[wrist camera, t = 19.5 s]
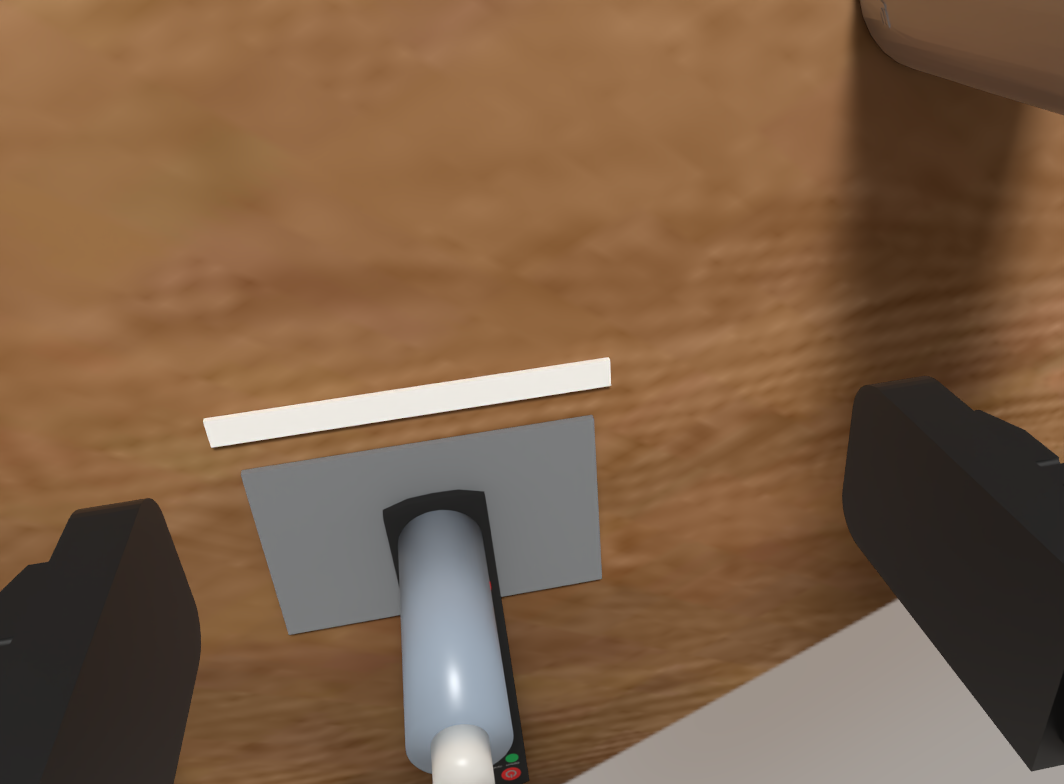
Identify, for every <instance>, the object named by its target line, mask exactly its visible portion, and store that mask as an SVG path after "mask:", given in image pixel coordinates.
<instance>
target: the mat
mask: <svg viewBox="0 0 1064 784" xmlns="http://www.w3.org/2000/svg"><path fill="white" fill-rule="evenodd" d="M241 477H242V481H243V484H244V487H245V491H246V494H247V497H248V500H249V504H250V507H251V510H252V514H253V517H254V520H255V524H256V527H257V530H258V534H259V537H260V540H261V544H262V547H263V550H264V554H265V557H266V560H267V564H268V567H269V570H270V574H271V577H272V580H273V584H274V587H275V590H276V594H277V597H278V600H279V604H280V607H281V610H282V614H283V617H284V620H285V624H286V627H287V630H288V633H289V635H291V634H297V633H302V632H308V631H314V630H319V629H325V628H330V627H336V626H342V625H347V624H353V623H358V622H364V621H369V620H375V619H381V618H386V617H392V616H397V615H401V613H400V588H399V584H398V580H397V576H396V571H395V567H394V563H393V559H392V554H391V550H390V546H389V542H388V537H387V533H386V529H385V525H384V521H383V509H386V508H388V507H390V506H392V505H394V504H397V503H399V502H401V501H403V500H405V499H408V498H412V497H417V496H421V495H426V494H430V493H436V492H443V491H450V490H457V489H460V490H473V491H484V493H485V498H486V504H487V510H488V516H489V523H490V529H491V536H492V542H493V549H494V555H495V562H496V568H497V575H498V581H499V588H500V594H501V597H503V596H509V595H515V594H520V593H526V592H531V591H537V590H542V589H548V588H554V587H559V586H565V585H570V584H576V583H582V582H587V581H593V580H598V579H602V569H601V550H600V530H599V510H598V491H597V471H596V451H595V432H594V418H593V416H592V415H588V416H582V417H576V418H569V419H563V420H557V421H550V422H544V423H538V424H531V425H525V426H519V427H512V428H506V429H500V430H494V431H487V432H481V433H475V434H468V435H462V436H456V437H449V438H443V439H437V440H430V441H424V442H418V443H411V444H405V445H399V446H393V447H386V448H380V449H374V450H367V451H361V452H355V453H348V454H342V455H336V456H329V457H323V458H317V459H310V460H304V461H298V462H291V463H285V464H279V465H273V466H266V467H260V468H254V469H247V470H242V472H241Z"/></svg>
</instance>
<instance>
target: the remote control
mask: <svg viewBox="0 0 1064 784" xmlns="http://www.w3.org/2000/svg"><path fill="white" fill-rule="evenodd" d="M437 510H451V511H456V512H460V513H463V514H465V515H467V516H469V517H470V518H471V519H473V520H474V521H475V522H476V523H477V524H478V526H479V528H480V530H481V532H482V537H483V543H484V550H485V556H486V562H487V569H488V575H489V582H490V588H491V594H492V601H493V607H494V614H495V620H496V626H497V633H498V639H499V645H500V652H501V658H502V665H503V671H504V677H505V684H506V690H507V697H508V703H509V709H510V716H511V722H512V728H513V743H512V746H511V748H510V749H509V751H508V752H507V754H506V755H505V756H504V757H503V758H502V759H501V760H499V761H498V762H497V763H495V764H494V765H493V772H494V779H495V784H523V783H525V782H527V781H529V775H528V769H527V762H526V756H525V749H524V743H523V736H522V730H521V723H520V717H519V710H518V704H517V697H516V691H515V684H514V678H513V672H512V665H511V659H510V652H509V646H508V639H507V633H506V626H505V620H504V613H503V607H502V600H501V594H500V588H499V581H498V575H497V568H496V562H495V555H494V549H493V542H492V536H491V529H490V523H489V516H488V510H487V504H486V498H485V493H484V491H473V490H460V489H457V490H450V491H443V492H436V493H430V494H426V495H421V496H417V497H412V498H408V499H405V500H403V501H401V502H399V503H397V504H394V505H392V506H390V507H388V508H386V509H383V521H384V525H385V529H386V533H387V537H388V542H389V546H390V550H391V554H392V559H393V563H394V567H395V571H396V576H397V580H398V584H399V560H398V539H399V536H400V533H401V532H402V530H403V528H404V527H405V526H406V525H407V524H408V523H409V522H410V521H411V520H413V519H414V518H416V517H417V516H420V515H422V514H424V513H427V512H431V511H437ZM399 588H400V587H399Z"/></svg>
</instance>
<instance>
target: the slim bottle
mask: <svg viewBox="0 0 1064 784" xmlns="http://www.w3.org/2000/svg"><path fill="white" fill-rule="evenodd" d="M398 560H399V587H400V613H401V639H402V666H403V692H404V718H405V745H406V754H407V756H408V758H409V760H410V761H411V762H412V763H413V764H414V765H415V766H416V767H417V768H419V769H421V770H423V771H425V772H427V773H431V774H432V777H433V784H495V779H494V772H493V765H494V764H495V763H497V762H498V761H499V760H501V759H502V758H503V757H504V756H505V755H506V754H507V752H508V751H509V749H510V748H511V746H512V743H513V728H512V722H511V716H510V709H509V703H508V697H507V690H506V684H505V677H504V671H503V665H502V658H501V652H500V645H499V639H498V633H497V626H496V620H495V614H494V607H493V601H492V594H491V588H490V582H489V575H488V569H487V562H486V556H485V550H484V543H483V537H482V532H481V530H480V528H479V526H478V524H477V523H476V522H475V521H474V520H473V519H471V518H470V517H469V516H467V515H465V514H463V513H460V512H456V511H451V510H437V511H431V512H427V513H424V514H422V515H420V516H417V517H416V518H414V519H413V520H411V521H410V522H409V523H408V524H407V525H406V526H405V527H404V528H403V530H402V532H401V533H400V536H399V539H398Z"/></svg>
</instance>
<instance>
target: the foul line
mask: <svg viewBox="0 0 1064 784" xmlns="http://www.w3.org/2000/svg"><path fill="white" fill-rule="evenodd" d="M606 386H611V373H610V359H609V357H607V358H600V359H594V360H587V361H581V362H574V363H567V364H561V365H554V366H548V367H541V368H534V369H528V370H521V371H515V372H508V373H501V374H495V375H488V376H482V377H475V378H468V379H462V380H455V381H449V382H442V383H435V384H429V385H422V386H416V387H409V388H402V389H396V390H389V391H382V392H376V393H369V394H363V395H356V396H349V397H343V398H336V399H330V400H323V401H316V402H310V403H303V404H297V405H290V406H283V407H277V408H270V409H264V410H257V411H250V412H244V413H237V414H231V415H224V416H217V417H211V418H204V420H203V423H204V426H205V429H206V432H207V436H208V439H209V442H210V445H211V448H213V447H219V446H226V445H232V444H239V443H245V442H252V441H258V440H265V439H271V438H277V437H284V436H290V435H297V434H303V433H310V432H316V431H323V430H329V429H335V428H342V427H348V426H355V425H361V424H368V423H374V422H381V421H387V420H394V419H400V418H406V417H413V416H419V415H426V414H432V413H439V412H445V411H452V410H458V409H464V408H471V407H477V406H484V405H490V404H497V403H503V402H510V401H516V400H523V399H529V398H535V397H542V396H548V395H555V394H561V393H568V392H574V391H581V390H587V389H593V388H600V387H606Z"/></svg>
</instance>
